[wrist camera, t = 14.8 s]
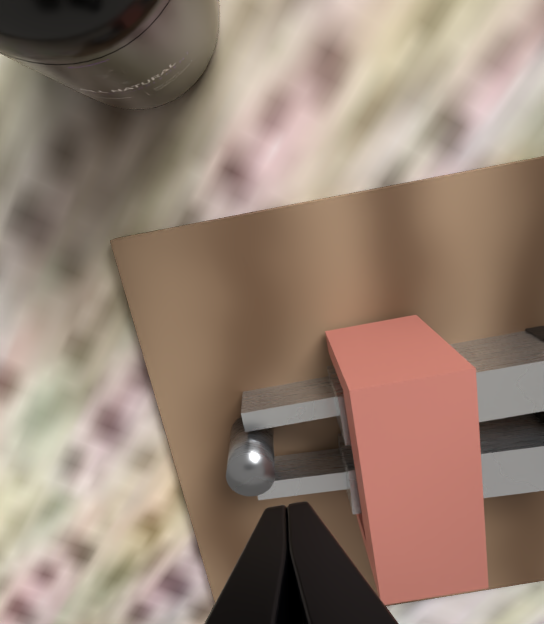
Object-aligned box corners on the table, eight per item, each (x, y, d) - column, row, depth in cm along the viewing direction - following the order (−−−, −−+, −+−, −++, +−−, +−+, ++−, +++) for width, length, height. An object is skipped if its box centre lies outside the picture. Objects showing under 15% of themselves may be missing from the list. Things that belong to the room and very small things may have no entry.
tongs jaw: (580, 397, 21) (638, 437, 18) (576, 445, 22) (631, 492, 19) (252, 438, 21) (250, 486, 18) (260, 484, 22) (259, 538, 19)
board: (607, 144, 19) (621, 142, 18) (594, 558, 25) (605, 570, 24) (116, 238, 19) (109, 240, 19) (224, 618, 26) (223, 632, 25)
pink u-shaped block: (416, 314, 20) (475, 368, 14) (432, 486, 22) (488, 588, 17) (324, 331, 20) (349, 390, 14) (352, 500, 22) (381, 605, 17)
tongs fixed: (578, 318, 20) (644, 348, 17) (577, 394, 21) (639, 437, 18) (218, 383, 21) (210, 425, 17) (235, 454, 22) (231, 507, 18)
